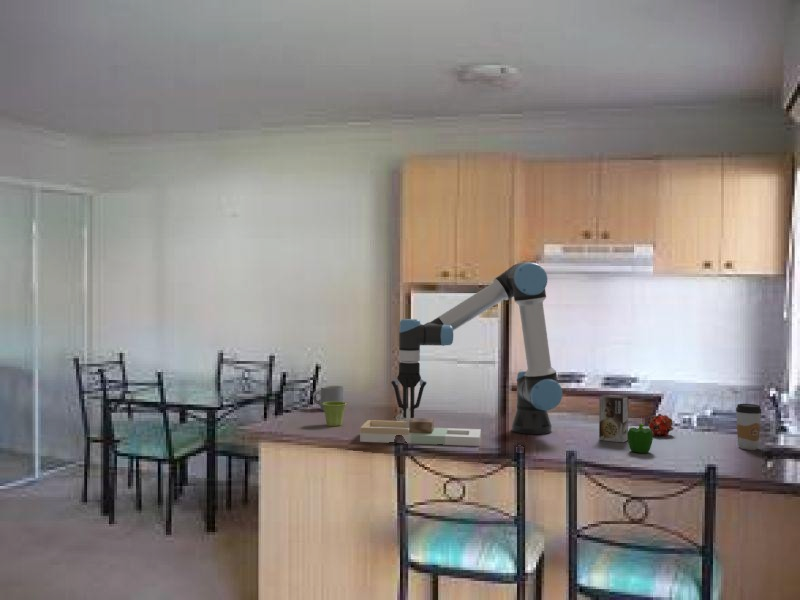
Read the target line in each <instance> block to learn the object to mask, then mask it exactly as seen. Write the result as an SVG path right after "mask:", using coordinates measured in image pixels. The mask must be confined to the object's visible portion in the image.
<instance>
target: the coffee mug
mask: <svg viewBox="0 0 800 600" xmlns="http://www.w3.org/2000/svg"><path fill="white" fill-rule="evenodd" d="M317 395H319V398H320V399H319V400H318V399H317ZM312 399H313V402H314V403H315V404H317V405H318V406H320V410H321V411H324V412H325V410H324V406H323V404H322V403H324V402H344V386H342V385H323V386H320V389H319V390H315V391H314V392H313V394H312Z"/></svg>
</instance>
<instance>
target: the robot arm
mask: <svg viewBox="0 0 800 600" xmlns="http://www.w3.org/2000/svg"><path fill="white" fill-rule="evenodd" d="M492 281H493V282H492V283H490V284H489V285H487V286H485V287H484V288H483V289H481V290H479V291H477V292H476V293H474V294H473V295H471V296H470V297H468V298H466V299H464V300H462V302H460V303H459V304H457V305H455V306H454V307H452V308H450V309H449V310H447V311H445V312H444V313H443V314H441V315H439V316H438V317H436V318H434V319H432V320H431V321H427V322H426V323H424V324H421V320H420V319H418V318H417V319H416V318H402V319H401V320H400V321H399V330H398V348H399V349H398V361H399V363H398V374H397V376H396V377H397V378H395V379H393V380H392V381H391V382H390V384H391V386H393V389H394V393H395V397H396V398H395V399H396V402H397V406H398V408H402V411H403V417H404V418H406V428H409V422H410V420H411V418H415V409H418V408H419V407H420V405H421V401H422V396H423V393H424V389H425V387H426V385H427V384H428V382H427V381H426V380H424V379H422V376H421V374H420V371H421V369H420V365H421V364H420V360H421V359H420V358H421V355H420V354H421V349H420V347H421V346H443V347H444V346H452V344H453V343H454V331H455V330H457V329H458V328H461V327H462V326H464V325H466V323H468V322H470V321H472V320H473V319H474V318H476V317H478V316H479V315H481V314H483V313H485V312H486V311H488V310H489V309H491V308H492V307H493V306H495V305H497V304H499V303H500V302H503V301H509V300H511V299H512V298H513V300H514V301H513V302H515V303H516V304H517V305H518V306H519V313H520V321H521V328H522V335H523V337H522V338H523V344H524V352H525V360H526V365H527V370H524V371H523V370H522V371H518V373H517V376H516V410H515V414H514V416H513V417H514V418H513V420H512V423H511V431H512V432H514V433H515V432H516V433H519V434H526V435H545V434H549V433H551V432H552V429H553V428H552V422H551V420H550V417H549V413H548V411H551V410H553V409H555V408H557V407H558V406H559V404H560V403H561V402H562V400H563V399H562V398H563V389H562V386H561V385H560V383H559V382H558V377H557V376H558V375H557V370H555V369H554V368H553V367H552V363H551V356H550V347H549V340H548V333H547V326H546V318H545V310H544V301H545V299H547V293H546V287H547V284H548V275H547V272H546V270H545V268H543V267H542V266H541V265H540V264H537V263H536V262H531V261H529V262H528V261H526V262H520V263H516V264H513V265H512V266H510V267H509V268H507V270H505V271H504V272H502V273H501V274H499V275H498V276H497V277H495V278H493V280H492ZM418 383H419V386H420V387H419V390H418V394H417V399H416V398H415V393H416V392H415V389H416V386H418ZM399 384H400V385H401V387H402V388H403V389H402V390H403V392H402V393H403V394H402V396H401V392H400V389H399ZM409 388H410V397H409V398H410V399H409V400H410V401H409V402H410V403H409V404H410V405H409V406H410V407H409V408H408V389H409ZM402 397H403V399H402ZM415 399H416V402H415ZM402 400H403V401H402Z"/></svg>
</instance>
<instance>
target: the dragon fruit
mask: <svg viewBox="0 0 800 600" xmlns="http://www.w3.org/2000/svg"><path fill="white" fill-rule="evenodd" d="M647 425H648V427H649V428H648V429H651V431H652V433H653V437H658V436H657V435H659V436H661V435H663V436H664V435H665V436H664V437H667V436H668V435H670V432H671V431H674V427H673V419H672V418H671V417H669V416H668V415H665V414H664V415H663V414H661V413H658V414H657V415H655V416H652V417H651V418H650V420H649V422H648V424H647Z"/></svg>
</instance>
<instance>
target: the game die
mask: <svg viewBox="0 0 800 600" xmlns="http://www.w3.org/2000/svg"><path fill="white" fill-rule="evenodd" d="M393 419H395V421H406V418H404V417H403V410H399V413H398V414H397V415H396V416H393ZM411 419H412V418H411Z"/></svg>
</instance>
